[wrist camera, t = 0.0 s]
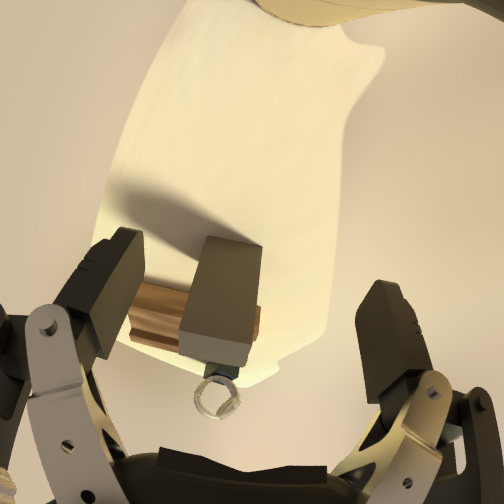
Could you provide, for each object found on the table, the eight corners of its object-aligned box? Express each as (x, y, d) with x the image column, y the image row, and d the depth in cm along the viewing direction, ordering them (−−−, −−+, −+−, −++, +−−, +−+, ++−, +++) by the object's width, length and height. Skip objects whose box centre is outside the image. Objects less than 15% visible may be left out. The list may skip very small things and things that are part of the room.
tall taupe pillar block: (207, 235, 31) (178, 330, 22) (262, 246, 31) (252, 344, 22) (204, 265, 34) (179, 355, 25) (254, 275, 34) (242, 367, 26)
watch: (234, 374, 54) (227, 425, 46) (197, 360, 51) (186, 414, 43) (249, 365, 50) (243, 421, 42) (209, 350, 48) (198, 408, 40)
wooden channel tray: (131, 279, 37) (120, 302, 34) (260, 307, 38) (258, 333, 35) (139, 319, 44) (131, 340, 41) (247, 343, 45) (244, 366, 42)
